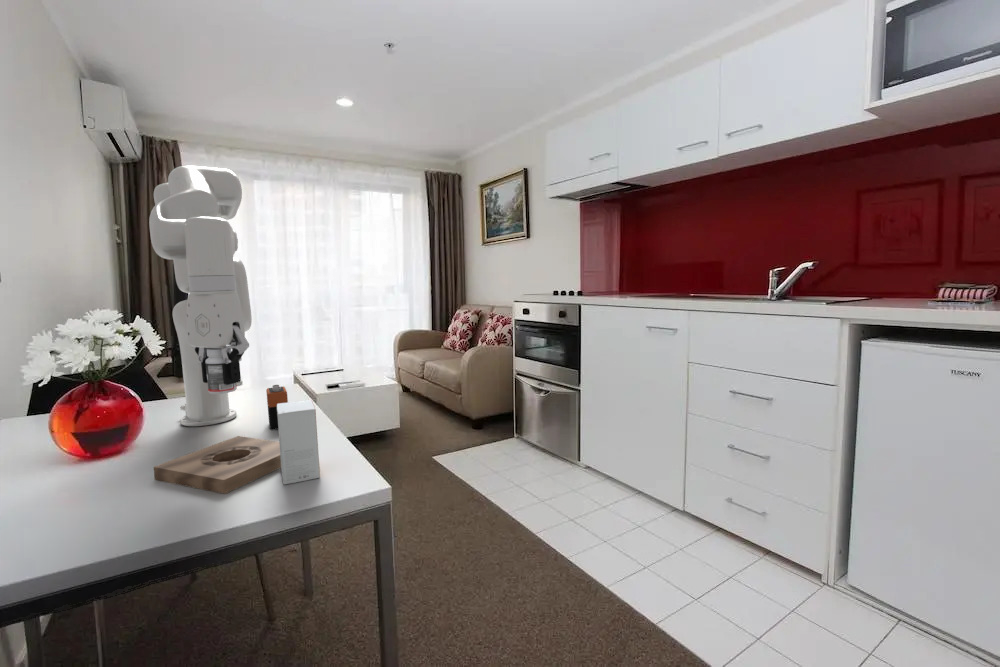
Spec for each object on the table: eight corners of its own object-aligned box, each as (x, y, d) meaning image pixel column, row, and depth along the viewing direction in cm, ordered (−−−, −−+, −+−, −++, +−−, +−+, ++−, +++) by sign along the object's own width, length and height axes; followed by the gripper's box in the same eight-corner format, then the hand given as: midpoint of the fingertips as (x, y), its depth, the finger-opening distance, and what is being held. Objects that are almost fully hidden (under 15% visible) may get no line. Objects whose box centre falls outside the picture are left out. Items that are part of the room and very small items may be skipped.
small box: (320, 478, 89) (316, 408, 87) (282, 485, 86) (277, 413, 85) (316, 463, 96) (311, 398, 95) (281, 469, 94) (275, 403, 92)
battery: (270, 430, 118) (267, 390, 117) (269, 423, 124) (265, 384, 123) (290, 427, 120) (286, 387, 119) (287, 420, 126) (284, 382, 125)
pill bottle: (216, 388, 95) (211, 346, 94) (241, 387, 96) (237, 345, 94) (203, 394, 90) (198, 350, 89) (229, 393, 91) (225, 349, 90)
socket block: (154, 479, 90) (153, 466, 90) (239, 447, 107) (238, 436, 106) (225, 494, 83) (223, 480, 83) (303, 456, 100) (302, 445, 100)
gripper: (162, 287, 90) (172, 383, 93) (227, 286, 84) (237, 390, 86) (200, 285, 97) (209, 375, 99) (263, 284, 91) (271, 381, 93)
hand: (222, 381), depth 93 cm, fingers closed on pill bottle, 4 cm apart
